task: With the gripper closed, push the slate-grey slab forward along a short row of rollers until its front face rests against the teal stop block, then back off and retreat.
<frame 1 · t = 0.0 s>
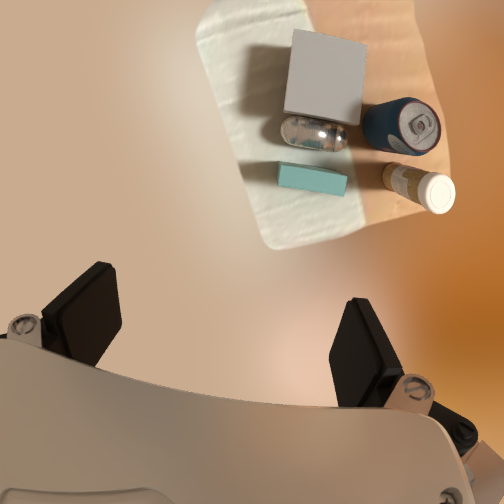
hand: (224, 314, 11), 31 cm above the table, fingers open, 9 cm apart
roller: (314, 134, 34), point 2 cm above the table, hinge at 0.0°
stop: (306, 174, 39), on the table
soda can: (381, 128, 35), on the table
slab: (325, 76, 28), point 6 cm above the table, slide at 0.0 cm, touching roller mid, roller
sprinkles bottle: (393, 176, 38), on the table
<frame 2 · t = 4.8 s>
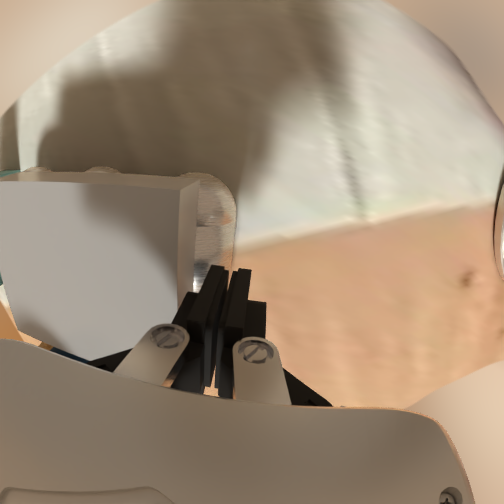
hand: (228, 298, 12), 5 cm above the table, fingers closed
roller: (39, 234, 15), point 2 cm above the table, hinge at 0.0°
roller mid: (102, 246, 15), point 2 cm above the table, hinge at 0.0°, touching slab
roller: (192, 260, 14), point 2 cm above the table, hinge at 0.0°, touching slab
soda can: (110, 343, 21), on the table
slab: (78, 272, 12), point 6 cm above the table, slide at 1.4 cm, touching gripper, roller mid, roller
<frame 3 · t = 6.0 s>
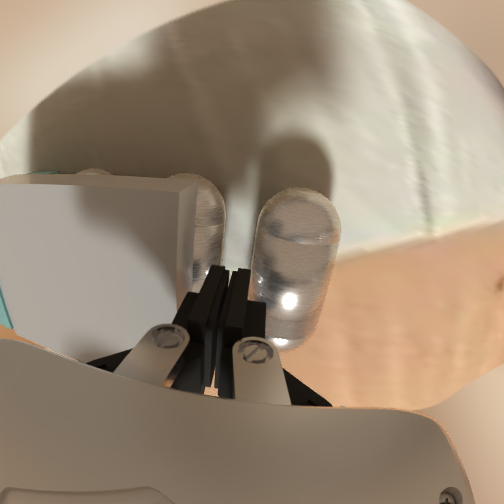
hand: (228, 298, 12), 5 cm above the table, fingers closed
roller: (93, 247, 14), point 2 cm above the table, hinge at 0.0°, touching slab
stop: (50, 226, 17), on the table
roller mid: (182, 261, 14), point 2 cm above the table, hinge at 0.0°, touching slab
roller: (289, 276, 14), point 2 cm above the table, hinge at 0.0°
slab: (76, 275, 11), point 6 cm above the table, slide at 6.5 cm, touching gripper, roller, roller mid, stop
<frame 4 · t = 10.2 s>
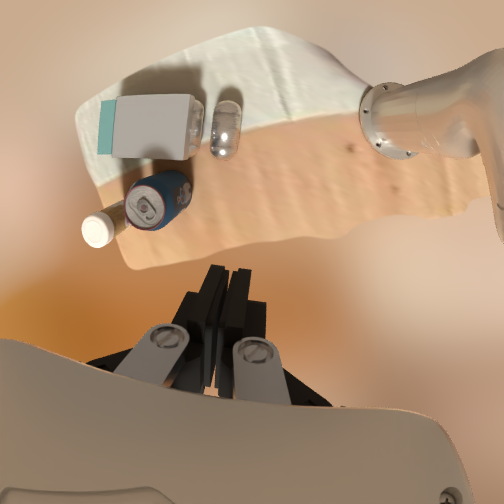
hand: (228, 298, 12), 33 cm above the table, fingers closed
stop: (127, 127, 40), on the table
roller mid: (188, 127, 38), point 2 cm above the table, hinge at 0.0°, touching slab
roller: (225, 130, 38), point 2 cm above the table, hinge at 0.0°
soda can: (174, 190, 44), on the table
slab: (151, 126, 35), point 6 cm above the table, slide at 6.5 cm, touching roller, roller mid, stop
sprinkles bottle: (136, 207, 45), on the table
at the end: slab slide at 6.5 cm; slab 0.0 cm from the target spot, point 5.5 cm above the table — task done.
